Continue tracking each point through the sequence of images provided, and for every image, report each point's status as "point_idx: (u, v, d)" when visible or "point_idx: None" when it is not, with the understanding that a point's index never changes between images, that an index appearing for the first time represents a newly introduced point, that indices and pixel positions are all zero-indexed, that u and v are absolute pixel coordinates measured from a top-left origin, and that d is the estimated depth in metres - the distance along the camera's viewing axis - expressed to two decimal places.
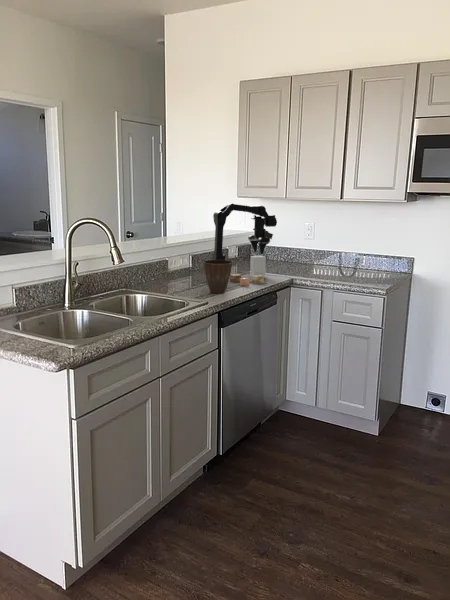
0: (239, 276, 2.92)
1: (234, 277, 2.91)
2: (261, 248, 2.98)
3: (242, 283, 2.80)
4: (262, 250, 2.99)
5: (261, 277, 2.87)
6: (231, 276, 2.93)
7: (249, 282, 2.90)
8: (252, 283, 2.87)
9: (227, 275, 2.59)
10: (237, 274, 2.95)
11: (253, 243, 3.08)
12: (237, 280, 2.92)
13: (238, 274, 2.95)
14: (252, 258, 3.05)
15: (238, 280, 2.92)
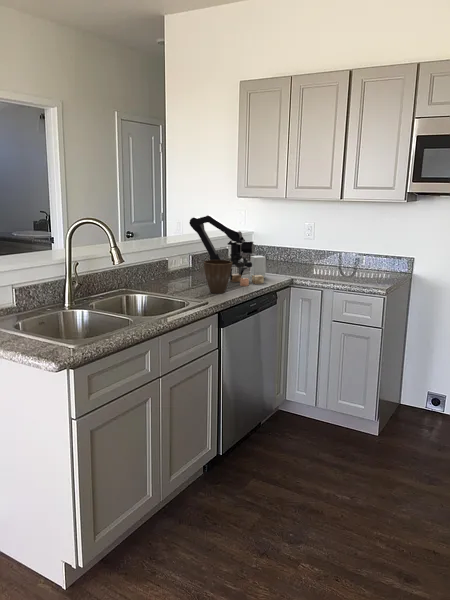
0: (239, 275, 2.92)
1: (234, 277, 2.91)
2: None
3: (242, 283, 2.80)
4: None
5: (261, 277, 2.87)
6: None
7: (249, 282, 2.90)
8: (252, 283, 2.87)
9: (227, 275, 2.59)
10: (237, 274, 2.95)
11: (239, 269, 2.95)
12: (237, 280, 2.92)
13: (238, 274, 2.95)
14: (252, 258, 3.05)
15: (238, 280, 2.92)
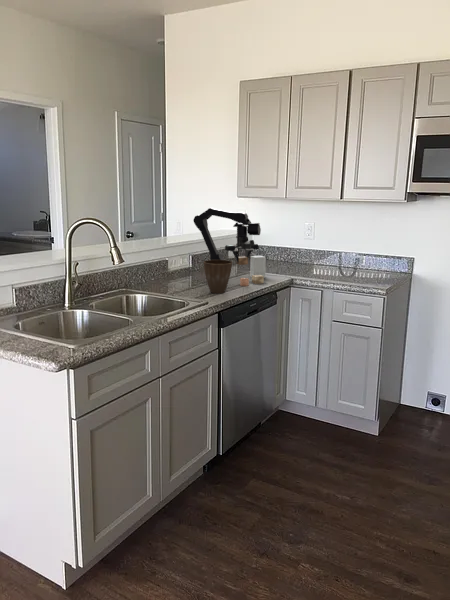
0: (245, 258, 2.88)
1: (241, 259, 2.87)
2: (235, 256, 2.89)
3: (242, 283, 2.80)
4: (236, 258, 2.89)
5: (261, 277, 2.87)
6: None
7: (249, 282, 2.90)
8: (252, 283, 2.87)
9: (227, 275, 2.59)
10: (243, 256, 2.91)
11: (245, 252, 2.92)
12: (244, 262, 2.88)
13: (244, 256, 2.91)
14: (252, 258, 3.05)
15: (245, 262, 2.89)
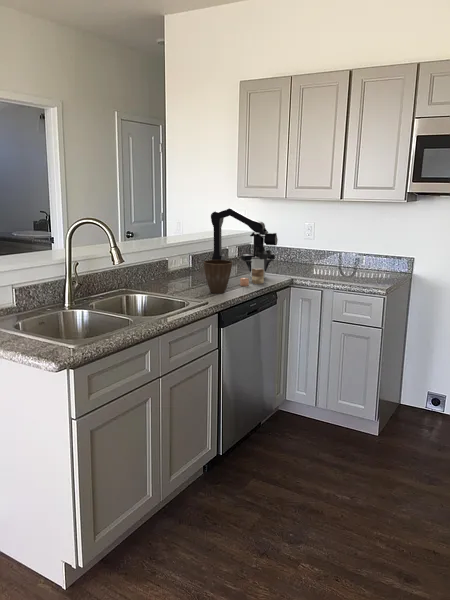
0: (261, 270, 2.86)
1: (256, 271, 2.85)
2: (248, 266, 2.86)
3: (242, 283, 2.80)
4: (249, 268, 2.86)
5: (261, 277, 2.87)
6: (253, 270, 2.87)
7: (249, 282, 2.90)
8: (252, 283, 2.87)
9: (227, 275, 2.59)
10: (259, 268, 2.89)
11: (264, 262, 2.90)
12: (259, 274, 2.87)
13: (260, 268, 2.89)
14: None
15: (260, 274, 2.87)
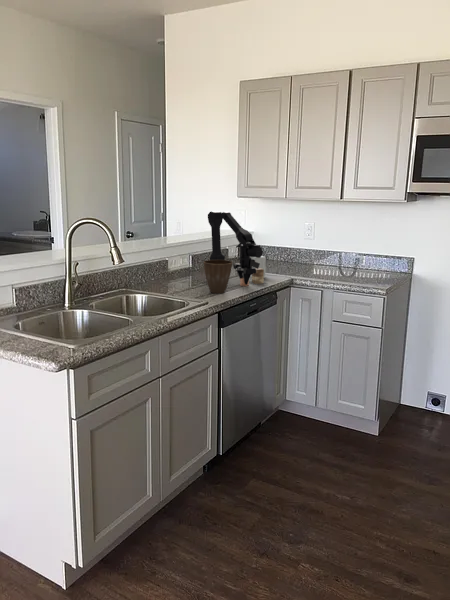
0: (261, 270, 2.86)
1: (256, 271, 2.85)
2: (245, 278, 2.78)
3: (242, 283, 2.80)
4: (246, 280, 2.79)
5: (261, 277, 2.87)
6: None
7: (249, 282, 2.90)
8: (252, 283, 2.87)
9: (227, 275, 2.59)
10: (259, 268, 2.89)
11: (240, 273, 2.83)
12: (259, 274, 2.87)
13: (260, 268, 2.89)
14: (252, 258, 3.05)
15: (260, 274, 2.87)
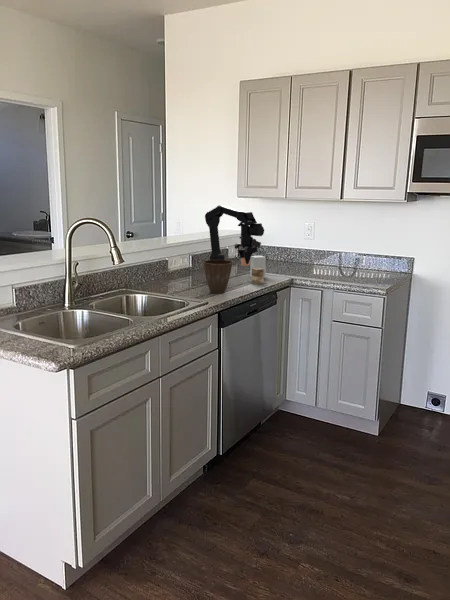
0: (261, 270, 2.86)
1: (256, 271, 2.85)
2: (246, 257, 2.76)
3: (243, 262, 2.78)
4: (248, 260, 2.77)
5: (261, 277, 2.87)
6: (253, 270, 2.87)
7: (249, 282, 2.90)
8: (252, 283, 2.87)
9: (227, 275, 2.59)
10: (259, 268, 2.89)
11: (241, 253, 2.81)
12: (259, 274, 2.87)
13: (260, 268, 2.89)
14: (252, 258, 3.05)
15: (260, 274, 2.87)
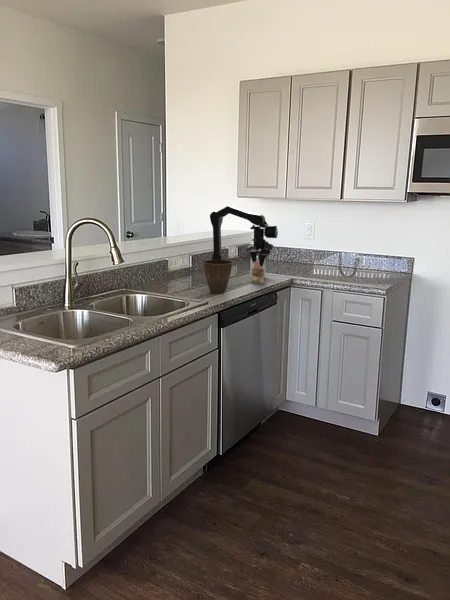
0: (261, 270, 2.86)
1: (257, 271, 2.85)
2: (261, 260, 2.81)
3: (256, 266, 2.86)
4: (262, 262, 2.82)
5: (261, 277, 2.87)
6: (253, 270, 2.87)
7: (249, 282, 2.90)
8: (252, 283, 2.87)
9: (227, 275, 2.59)
10: None
11: (252, 254, 2.90)
12: (260, 274, 2.86)
13: None
14: None
15: (261, 274, 2.87)
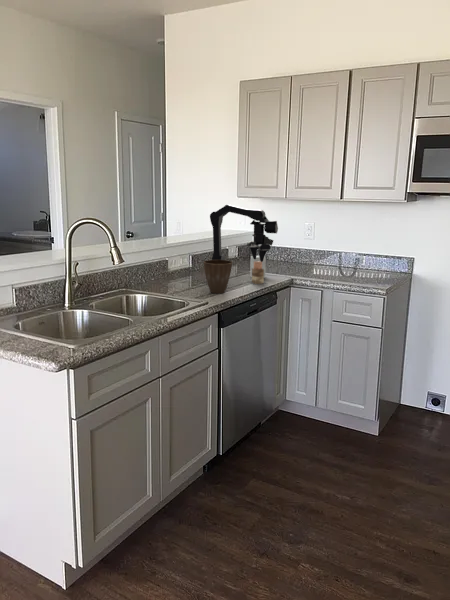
0: (261, 270, 2.86)
1: (257, 271, 2.85)
2: (261, 255, 2.81)
3: (256, 266, 2.86)
4: (262, 257, 2.81)
5: (261, 277, 2.87)
6: (253, 270, 2.87)
7: (249, 282, 2.90)
8: (252, 283, 2.87)
9: (227, 275, 2.59)
10: None
11: (252, 250, 2.90)
12: (260, 274, 2.86)
13: None
14: (252, 258, 3.05)
15: (261, 274, 2.87)
